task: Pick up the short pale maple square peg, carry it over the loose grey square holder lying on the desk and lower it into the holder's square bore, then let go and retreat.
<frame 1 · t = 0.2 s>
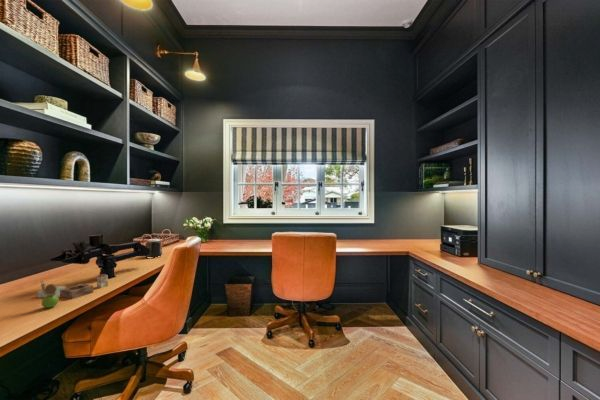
hand: (56, 260, 128), 17 cm above the table, tool horizontal, fingers open, 9 cm apart
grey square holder: (77, 294, 125), on the table
jar: (153, 257, 208), on the table
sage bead: (52, 294, 125), on the table
peg: (102, 286, 136), on the table
snail figurine: (49, 307, 110), on the table
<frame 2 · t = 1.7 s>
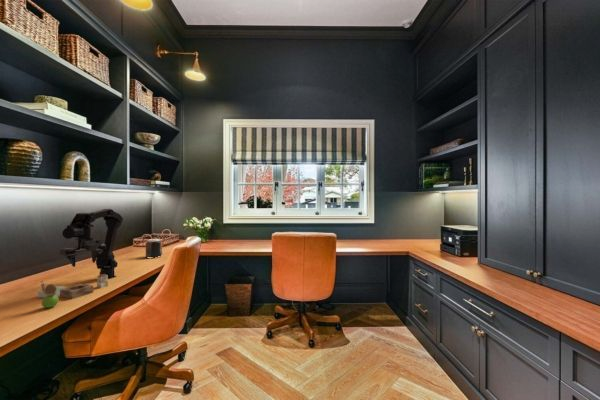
hand: (84, 264, 134), 13 cm above the table, tool pointing down, fingers open, 9 cm apart
nothing on the table moved.
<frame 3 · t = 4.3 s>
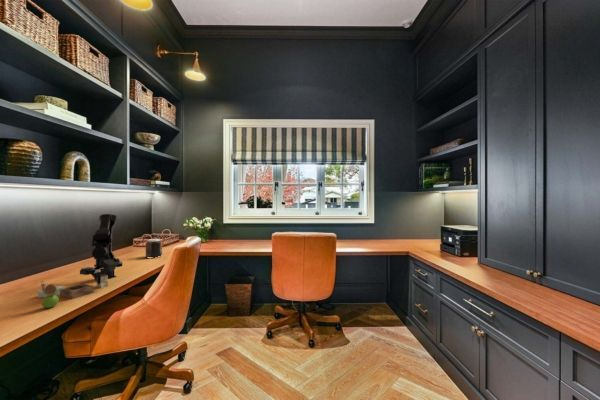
hand: (102, 282, 136), 2 cm above the table, tool pointing down, fingers closed on peg, 3 cm apart
peg: (102, 286, 136), on the table, touching gripper
everything else where it was.
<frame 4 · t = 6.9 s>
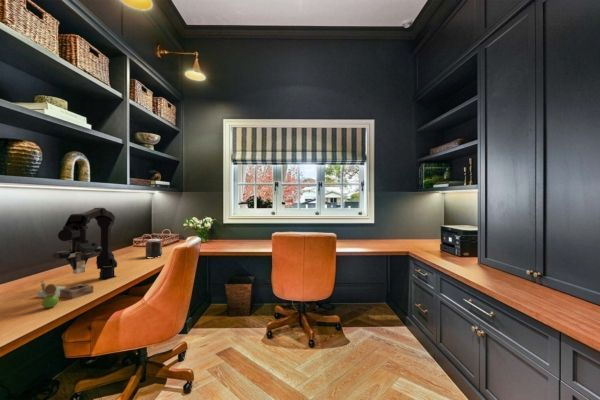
hand: (78, 268, 125), 13 cm above the table, tool pointing down, fingers closed on peg, 3 cm apart
peg: (78, 272, 125), point 11 cm above the table, touching gripper
everything else where it was.
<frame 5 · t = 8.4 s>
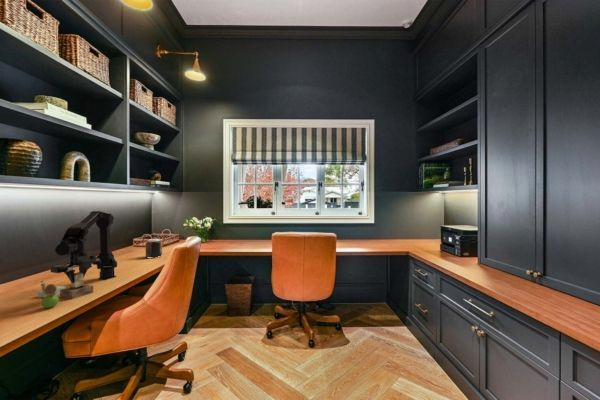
hand: (77, 281, 125), 6 cm above the table, tool pointing down, fingers closed on peg, 3 cm apart
peg: (77, 285, 125), point 4 cm above the table, touching gripper
everything else where it was.
when the fingers open (4 cm above the table, at t = 9.6 s): peg drops 3 cm, resting in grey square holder.
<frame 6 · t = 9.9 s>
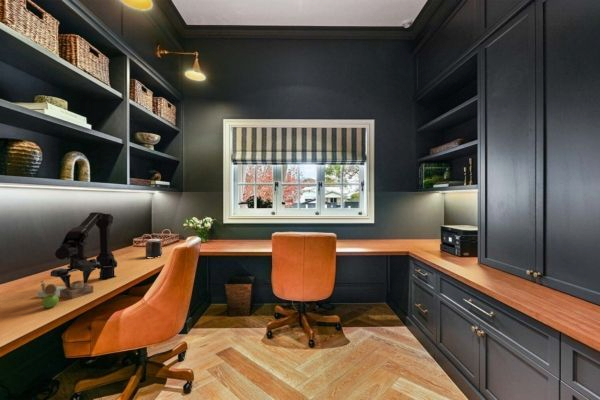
hand: (77, 285, 125), 4 cm above the table, tool pointing down, fingers open, 7 cm apart
peg: (77, 294, 125), resting in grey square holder
everything else where it was.
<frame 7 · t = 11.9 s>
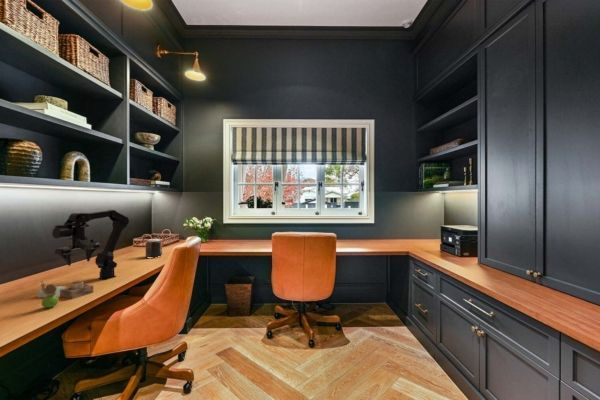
hand: (79, 263, 137), 13 cm above the table, tool pointing down, fingers open, 9 cm apart
nothing on the table moved.
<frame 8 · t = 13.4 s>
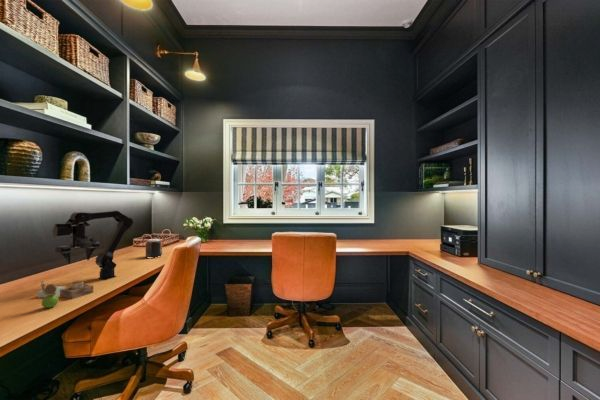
hand: (78, 261, 139), 13 cm above the table, tool pointing down, fingers open, 9 cm apart
nothing on the table moved.
at the end: peg 0.1 cm off-centre on the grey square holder, point 0.0 cm above the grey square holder's base; peg tilted 0°; the gripper is holding nothing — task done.
